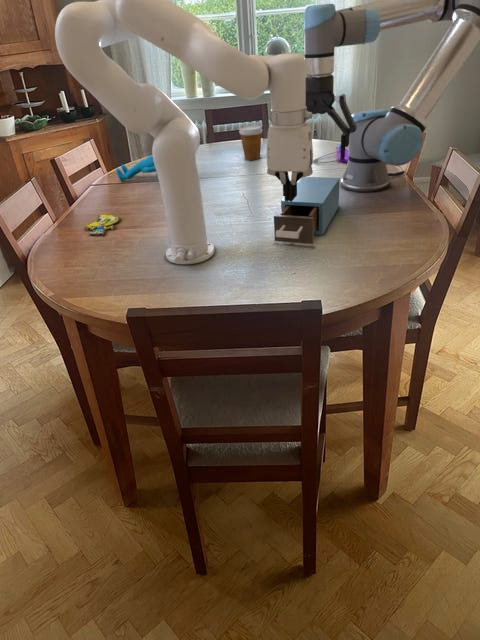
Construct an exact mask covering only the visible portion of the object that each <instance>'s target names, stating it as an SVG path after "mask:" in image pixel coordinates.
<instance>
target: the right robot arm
mask: <svg viewBox="0 0 480 640" xmlns="http://www.w3.org/2000/svg"><path fill="white" fill-rule="evenodd" d="M426 21H427V22H429V23H432V24H434V23H437V22H443V21H452V23H451V24H450V26H449V28H448V29H447V31H446V32H445V34H444V36H443V37H442V39H441V40H440V41H439V43H438V44H437V46H436V48H435V49H434V51H433V52H432V53H431V56H430V57H429V59H428V60H427V61H426V63H425V65H424V66H423V68H422V69H421V71H420V73H418V76H417V77H416V79H415V80H414V82H413V83H412V84H411V86H410V87H409V89H408V91H407V92H406V94H405V95H404V97H403V98H402V100H401V101H400V103H399V104H396V105H393V106H391V107H390V109H389V110H388V109H372V110H363V111H358V112H354V113H351V111H350V108H349V106H348V104H347V96H346V94H345V93H342V94H341V95H339V94H338V95H335V93H334V91H335V90H334V89H335V88H334V87H335V86H334V85H335V83H334V82H335V77H334V75H333V74H334V72H335V50H336V49H335V48H339V47H347V46H357V45H366V44H371V43H374V42H375V41H376V40H377V39H378V37H379V35H380V32H384V31H387V30H392V29H397V28H400V27H405V26H408V25H413V24H416V23H422V22H426ZM303 39H304V40H303V41H304V45H303V46H304V58H305V64H306V108H307V112H308V111H309V112H312V115H317V114H319V115H325V114H327V115H328V116H329V117H330V118H331V120H332V121H333V122H334V123H335V124H336V126H337V127H338V129H340V131H341V132H342V134H341V135H340V145H341V149H340V150H341V157H340V160H344V158H345V149H346V148H348V151H349V154H348V162H347V164H346V167H345V169H344V172H343V174H342V178H341V187H342V188H343V189H345V190H348V191H350V192H359V193H370V192H371V193H372V192H378V191H382V190H384V189H386V188H388V187H389V186H390V177H397V176H401V175H404V174H405V170H402V171H397V172H393V173H392V172H388V168H387V165H388V166H389V165H391V166H393V167H394V166H395V167H400V166H404V165H407V164H409V163H411V162H412V161H413V160H414V159H415V158H416V157H417V156H418V155H419V154H420V151H421V149H423V148H422V147H423V145H424V143H423V140H424V135H423V133H424V132H425V130H427V129H426V128H427V126H426V125H427V124H426V120H427V118H428V117H429V115H430V114H431V112H432V111H433V110H434V108H435V107H436V105H437V103H438V102H439V100H440V99H441V97H442V96H443V95H444V93H445V92H446V90H447V89H448V87H449V86H450V84H451V82H452V81H453V79H454V78H455V77H456V75H457V74H458V73H459V71H460V69H461V68H462V67H463V65H464V64H465V62H466V60H467V59H468V57H469V56H470V55H471V53H472V52H473V50H474V49H475V47H476V46H477V44H478V43H479V41H480V0H374V1H370V2H367V3H362V4H358V5H353V6H349V7H346V8H345V7H344V8H341V9H337V10H336V5H335V4H334V3H323V4H312V5H308V6H307V7H306V8H305V9H304V15H303ZM335 102H336V103H337V105H339V107H340V109H341V112H342V114H343V116H344V120H345V121H346V123H345V121H344V120H343V119H342V117H341V116H340V115H339V114H338V112H337V111H336V109H335V108H334V106H333V104H334V103H335Z"/></svg>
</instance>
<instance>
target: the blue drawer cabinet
mask: <svg viewBox="0 0 480 640" xmlns="http://www.w3.org/2000/svg"><path fill="white" fill-rule="evenodd" d="M340 183H341V182H340V177H325V176H324V177H323V176H306V177H302V178H301V179H300V180H299V181H298V182H297V196H296V197H295V198H294V199H293V201H285V196H283V198H282V199H281V201H280V207H281V208H280V210H281V213H282V211H283V210H284V209H285V208H286V206H287V205H297V206H315V207H319V227H318V228H317V230H316V232H315V233H314V235H315V236H323V235H324V233H325V232H326V229H327V228H328V226H329V224H330V223H331V221H332V220H333V218H334V216H335V214H336V213H337V211H338V209H339V207H340ZM281 213H280V214H281Z"/></svg>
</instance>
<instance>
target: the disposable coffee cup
mask: <svg viewBox="0 0 480 640" xmlns="http://www.w3.org/2000/svg"><path fill="white" fill-rule="evenodd" d="M262 133H263V129H262V126H261V125H259V124H250V125H249V124H248V125H243V126H241V127H240V128H239V131H238V134H239V135H240V140H241V144H242V150H243V155H244V159H245V160H248V161H252V160H258V159H260V158H261V147H262V146H261V145H262Z"/></svg>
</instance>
